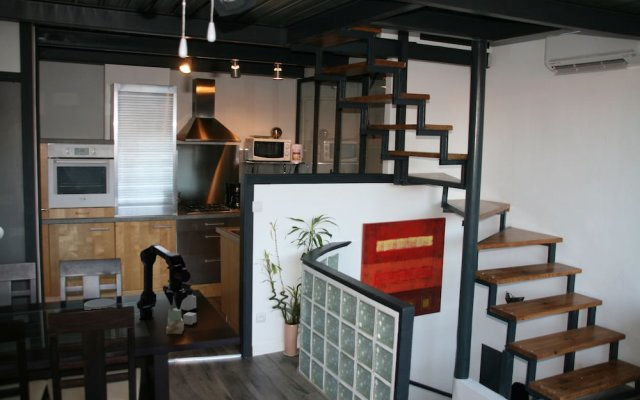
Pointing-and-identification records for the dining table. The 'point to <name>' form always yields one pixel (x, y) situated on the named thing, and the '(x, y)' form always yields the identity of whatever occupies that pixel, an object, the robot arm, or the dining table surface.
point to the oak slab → (174, 330)
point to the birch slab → (175, 323)
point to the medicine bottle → (189, 301)
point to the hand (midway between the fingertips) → (175, 307)
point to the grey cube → (189, 318)
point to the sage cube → (174, 314)
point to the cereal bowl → (99, 304)
